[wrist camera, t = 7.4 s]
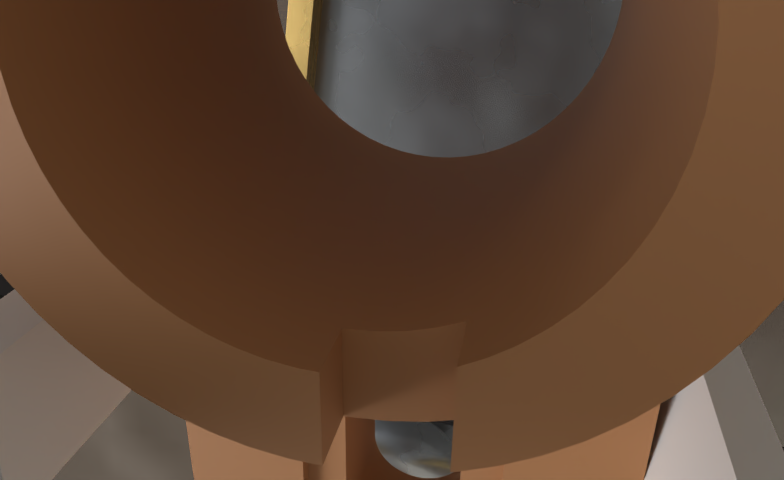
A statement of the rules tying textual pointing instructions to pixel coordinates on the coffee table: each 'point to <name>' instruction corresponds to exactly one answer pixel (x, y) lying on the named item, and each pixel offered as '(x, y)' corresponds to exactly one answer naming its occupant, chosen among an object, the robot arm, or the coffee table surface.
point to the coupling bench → (446, 98)
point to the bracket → (390, 238)
